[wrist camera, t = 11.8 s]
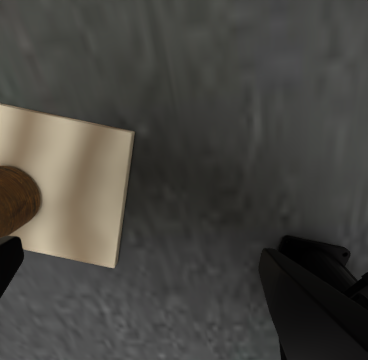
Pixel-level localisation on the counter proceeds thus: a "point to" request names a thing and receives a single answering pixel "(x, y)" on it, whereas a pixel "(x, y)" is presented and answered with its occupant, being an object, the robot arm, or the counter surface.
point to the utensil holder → (16, 199)
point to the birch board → (70, 182)
